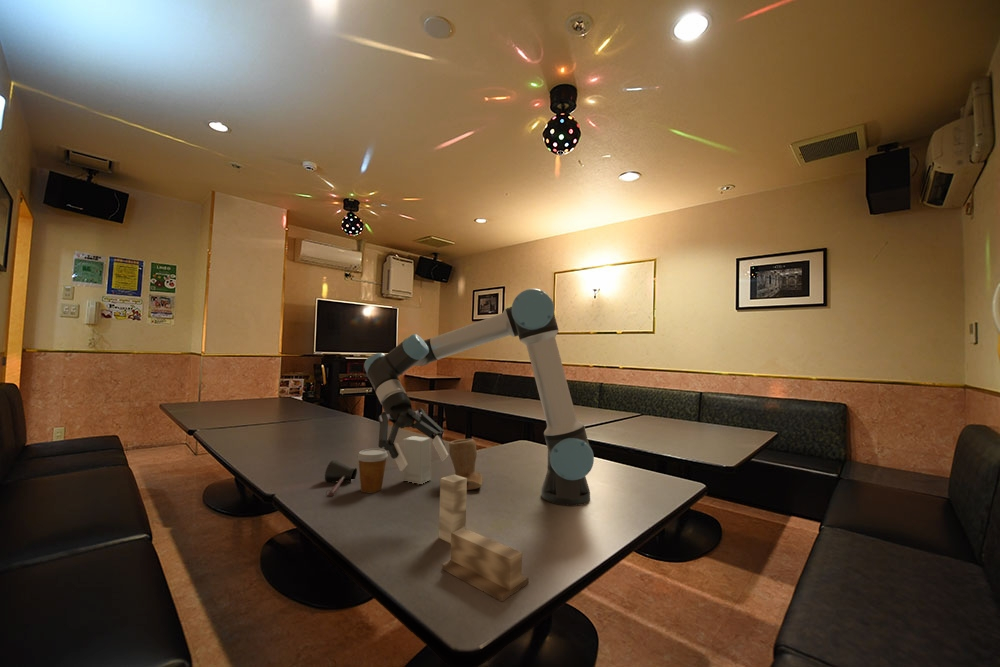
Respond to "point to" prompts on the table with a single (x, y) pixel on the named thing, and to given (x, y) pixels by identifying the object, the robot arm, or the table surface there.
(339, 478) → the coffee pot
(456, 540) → the ridge
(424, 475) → the skincare box
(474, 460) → the tan upright curved piece
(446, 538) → the block
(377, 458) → the disposable coffee cup
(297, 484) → the table surface
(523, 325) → the robot arm
